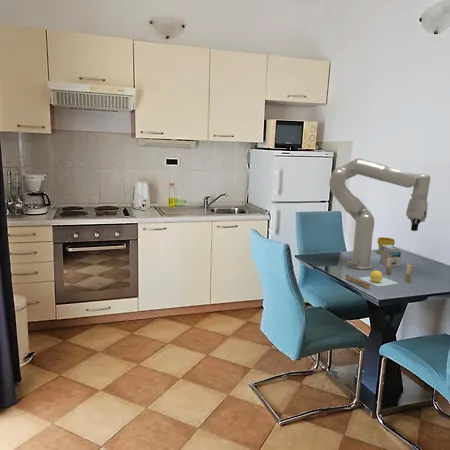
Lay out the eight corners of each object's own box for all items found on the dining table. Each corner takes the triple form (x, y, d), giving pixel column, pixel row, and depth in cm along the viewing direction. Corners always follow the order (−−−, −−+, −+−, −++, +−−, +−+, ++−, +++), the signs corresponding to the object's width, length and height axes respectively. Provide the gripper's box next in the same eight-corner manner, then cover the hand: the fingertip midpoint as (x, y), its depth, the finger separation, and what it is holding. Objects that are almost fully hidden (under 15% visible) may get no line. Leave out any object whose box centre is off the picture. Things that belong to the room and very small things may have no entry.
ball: (379, 270, 207) (386, 273, 210) (369, 267, 213) (377, 271, 216) (375, 281, 207) (382, 285, 210) (365, 278, 212) (373, 282, 215)
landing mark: (378, 286, 205) (378, 286, 205) (357, 278, 217) (357, 278, 217) (398, 283, 211) (398, 283, 211) (377, 275, 223) (377, 275, 223)
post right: (408, 282, 212) (410, 265, 211) (403, 281, 215) (405, 264, 213) (411, 282, 213) (413, 265, 212) (407, 280, 216) (409, 264, 214)
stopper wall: (368, 289, 200) (368, 284, 200) (345, 279, 215) (345, 274, 214) (369, 289, 201) (370, 284, 200) (346, 279, 215) (347, 274, 214)
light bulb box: (400, 266, 241) (402, 248, 239) (390, 267, 240) (392, 249, 238) (389, 261, 252) (391, 244, 250) (379, 262, 250) (381, 244, 248)
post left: (388, 275, 224) (389, 259, 222) (384, 273, 226) (386, 258, 224) (391, 274, 225) (393, 258, 223) (387, 273, 227) (389, 257, 226)
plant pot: (396, 255, 267) (398, 240, 265) (383, 256, 264) (384, 241, 262) (386, 251, 277) (387, 236, 275) (372, 251, 274) (374, 237, 272)
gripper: (403, 195, 229) (398, 227, 232) (426, 199, 215) (420, 233, 219) (413, 195, 232) (408, 227, 236) (436, 199, 219) (430, 233, 222)
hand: (414, 230), depth 227 cm, fingers closed
